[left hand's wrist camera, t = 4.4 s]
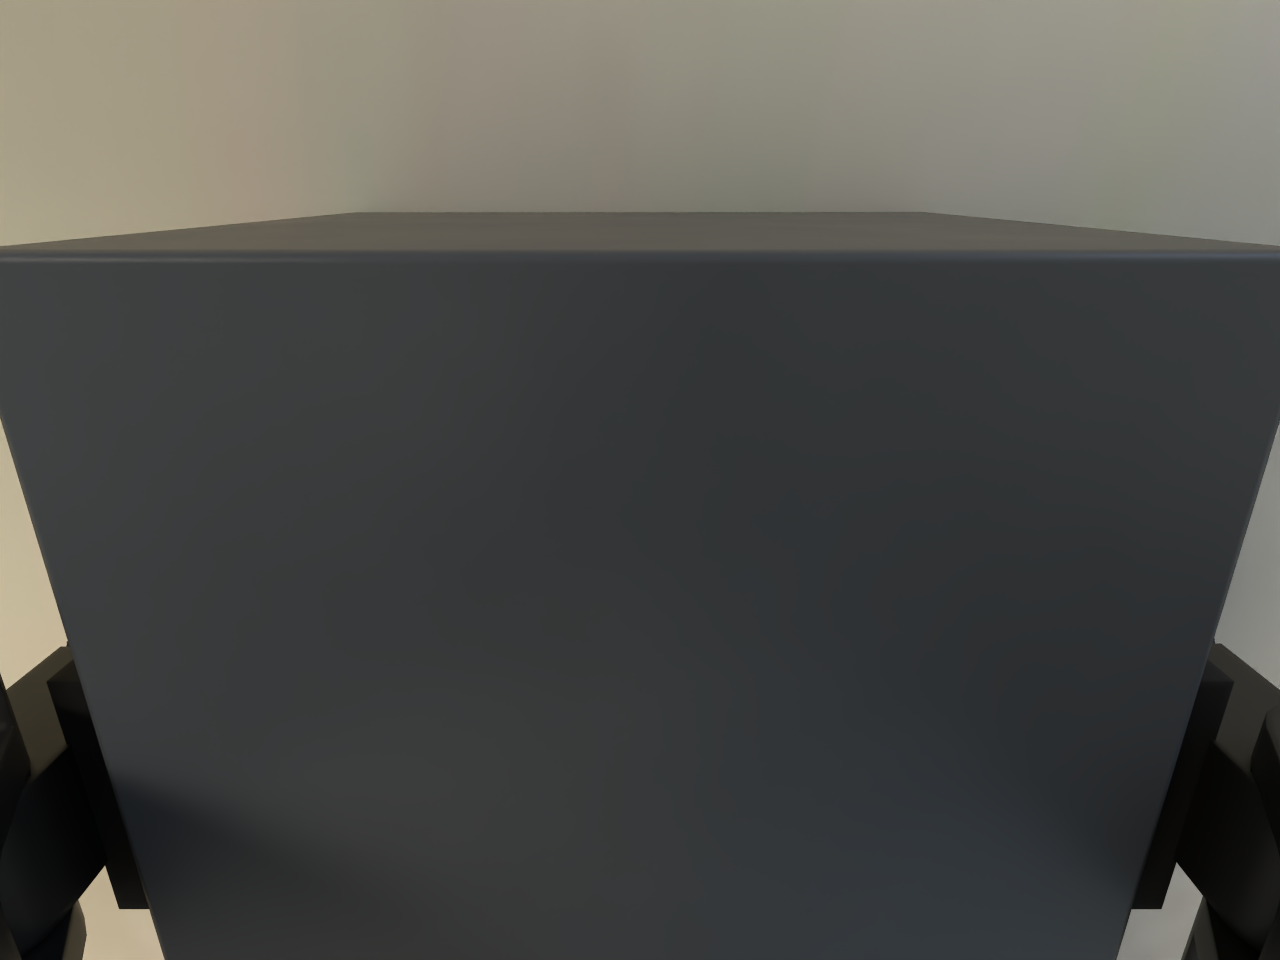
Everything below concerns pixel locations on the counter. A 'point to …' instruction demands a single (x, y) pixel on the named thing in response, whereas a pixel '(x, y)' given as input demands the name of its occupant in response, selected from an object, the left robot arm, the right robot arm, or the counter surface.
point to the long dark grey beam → (640, 571)
